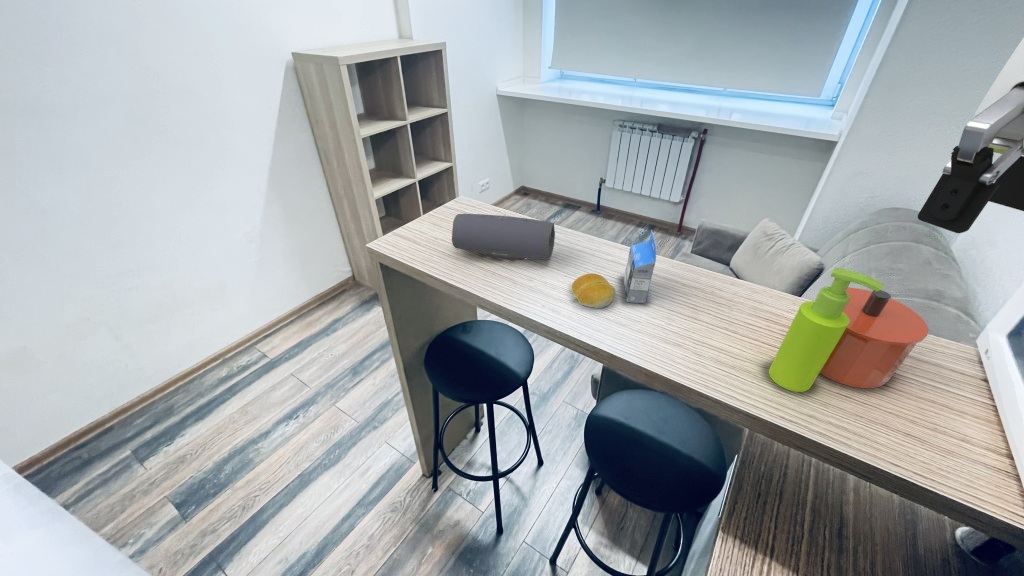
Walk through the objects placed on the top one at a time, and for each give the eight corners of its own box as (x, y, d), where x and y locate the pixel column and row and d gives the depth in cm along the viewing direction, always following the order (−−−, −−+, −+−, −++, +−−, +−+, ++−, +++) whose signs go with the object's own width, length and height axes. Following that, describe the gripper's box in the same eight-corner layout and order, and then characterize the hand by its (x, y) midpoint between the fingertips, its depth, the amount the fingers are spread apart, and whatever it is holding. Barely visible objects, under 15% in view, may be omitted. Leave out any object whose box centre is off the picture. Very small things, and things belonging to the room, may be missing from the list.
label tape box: (623, 278, 89) (631, 227, 82) (642, 279, 88) (652, 228, 81) (626, 302, 82) (636, 249, 75) (647, 304, 81) (658, 250, 74)
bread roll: (583, 313, 79) (585, 296, 77) (566, 287, 86) (568, 271, 84) (622, 305, 81) (625, 289, 79) (602, 281, 88) (604, 265, 86)
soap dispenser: (813, 402, 61) (880, 294, 49) (763, 378, 65) (815, 273, 53) (822, 380, 64) (888, 274, 53) (775, 358, 68) (826, 256, 57)
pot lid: (945, 333, 60) (965, 308, 57) (885, 359, 56) (903, 334, 53) (851, 284, 70) (864, 262, 67) (795, 304, 66) (806, 280, 63)
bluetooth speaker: (554, 251, 99) (556, 213, 93) (547, 271, 92) (549, 231, 86) (466, 241, 104) (462, 205, 98) (453, 260, 96) (448, 221, 91)
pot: (907, 374, 65) (942, 328, 60) (854, 398, 61) (886, 352, 56) (830, 326, 75) (854, 284, 69) (780, 345, 71) (801, 302, 65)
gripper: (1198, -56, 19) (969, 257, 29) (1318, -49, 24) (1090, 214, 34) (994, -41, 25) (861, 216, 35) (1127, -38, 30) (978, 184, 40)
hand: (975, 215), depth 34 cm, fingers open, 9 cm apart
